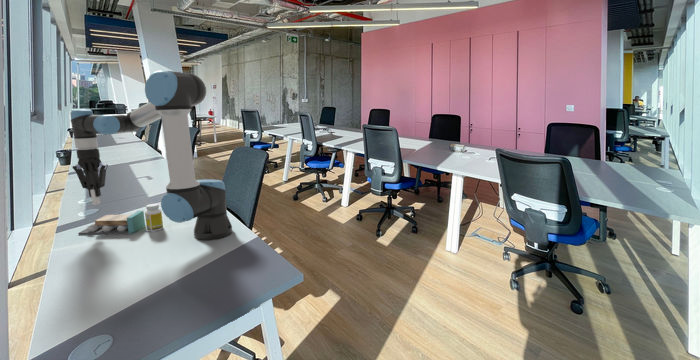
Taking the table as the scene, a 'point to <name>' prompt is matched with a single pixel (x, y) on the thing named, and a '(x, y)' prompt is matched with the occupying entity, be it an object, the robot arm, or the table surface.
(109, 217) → the slab
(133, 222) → the roller bed
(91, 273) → the table surface
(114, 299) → the table surface
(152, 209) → the pill bottle
